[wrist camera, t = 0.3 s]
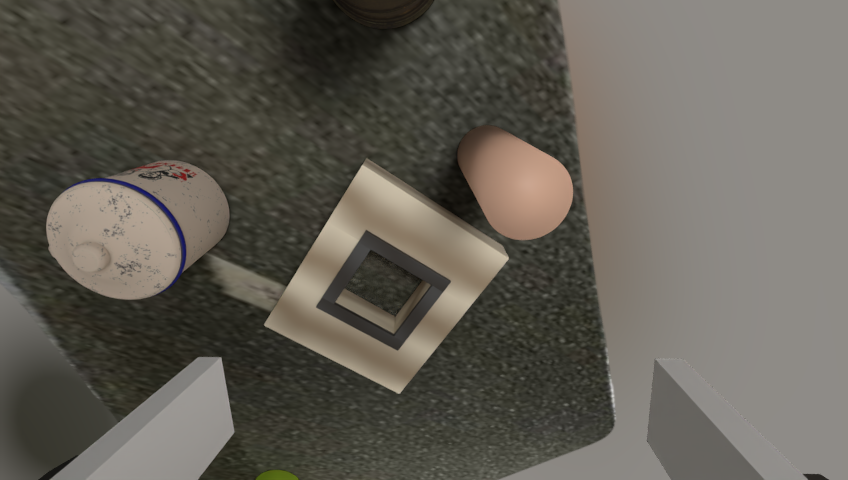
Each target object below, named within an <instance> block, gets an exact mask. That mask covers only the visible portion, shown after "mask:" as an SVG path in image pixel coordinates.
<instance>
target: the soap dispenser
mask: <svg viewBox="0 0 848 480" xmlns="http://www.w3.org/2000/svg"><path fill="white" fill-rule="evenodd" d="M256 480H299V479H298V478H297V477H296V476H295V475H293V474H292V473H289V472H287V471H283V470H270V471H266V472H264V473H262V474H260V475H259V476H258V477H257V478H256Z"/></svg>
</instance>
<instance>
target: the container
mask: <svg viewBox="0 0 848 480" xmlns="http://www.w3.org/2000/svg"><path fill="white" fill-rule="evenodd" d="M333 1H334V2H335V4H336V5H337V6H338V7H339V8H340V9H341V10H342V11H343V12H344V13H345V14H346V15H347V16H349V17H350V18H352V19H353V20H355V21H357V22H358V23H360V24H363V25H365V26H368V27H372V28H378V29H391V28H396V27H400V26H403V25H406V24H408V23H410V22H412V21H414V20H415V19H417V18H418V17H419V16H421V15H422V14H423V13H424V12H425V11H426V10H427V9H428V8H429V7H430V5H431V4H432V3H433V1H434V0H333Z"/></svg>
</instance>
